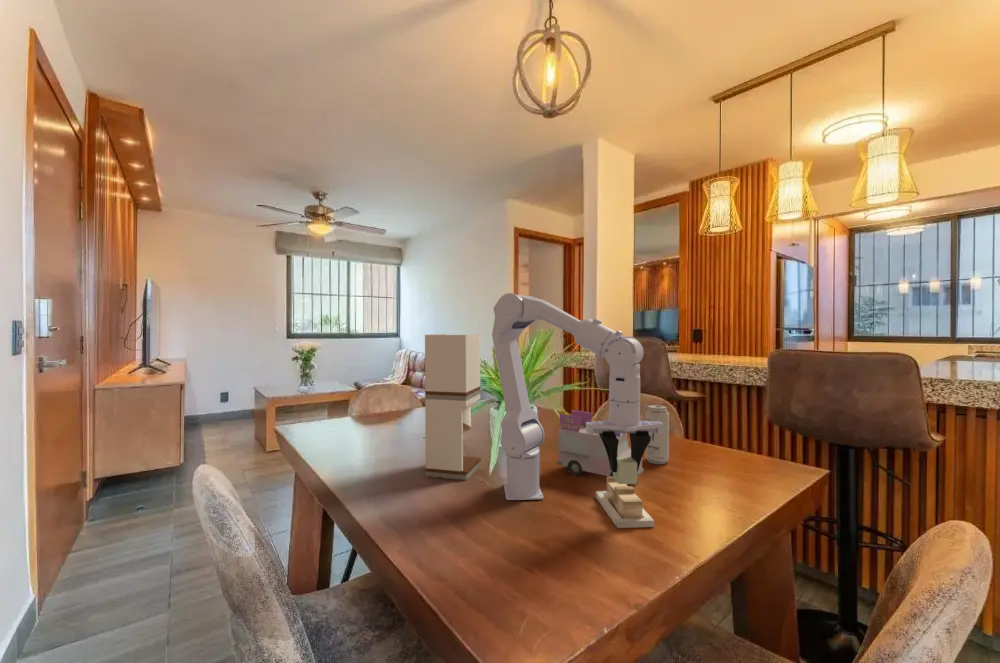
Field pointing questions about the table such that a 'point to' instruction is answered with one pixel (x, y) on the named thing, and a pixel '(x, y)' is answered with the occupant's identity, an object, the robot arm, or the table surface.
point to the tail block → (626, 471)
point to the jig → (623, 522)
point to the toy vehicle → (586, 446)
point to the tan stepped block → (623, 499)
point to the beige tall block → (450, 402)
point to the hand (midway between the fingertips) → (624, 470)
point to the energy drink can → (658, 435)
